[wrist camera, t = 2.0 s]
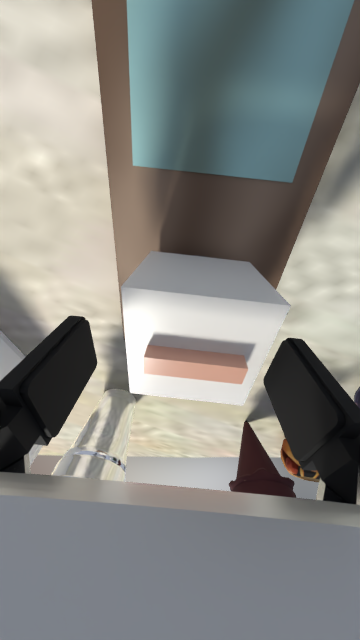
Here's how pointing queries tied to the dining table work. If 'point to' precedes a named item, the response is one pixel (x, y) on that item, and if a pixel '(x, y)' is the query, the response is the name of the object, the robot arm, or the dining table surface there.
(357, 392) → the storage jar
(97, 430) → the cup with straw
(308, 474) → the hot dog
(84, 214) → the dining table surface
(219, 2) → the post stand
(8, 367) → the butter dish
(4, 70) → the dining table surface
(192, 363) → the white cube with handle
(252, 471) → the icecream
